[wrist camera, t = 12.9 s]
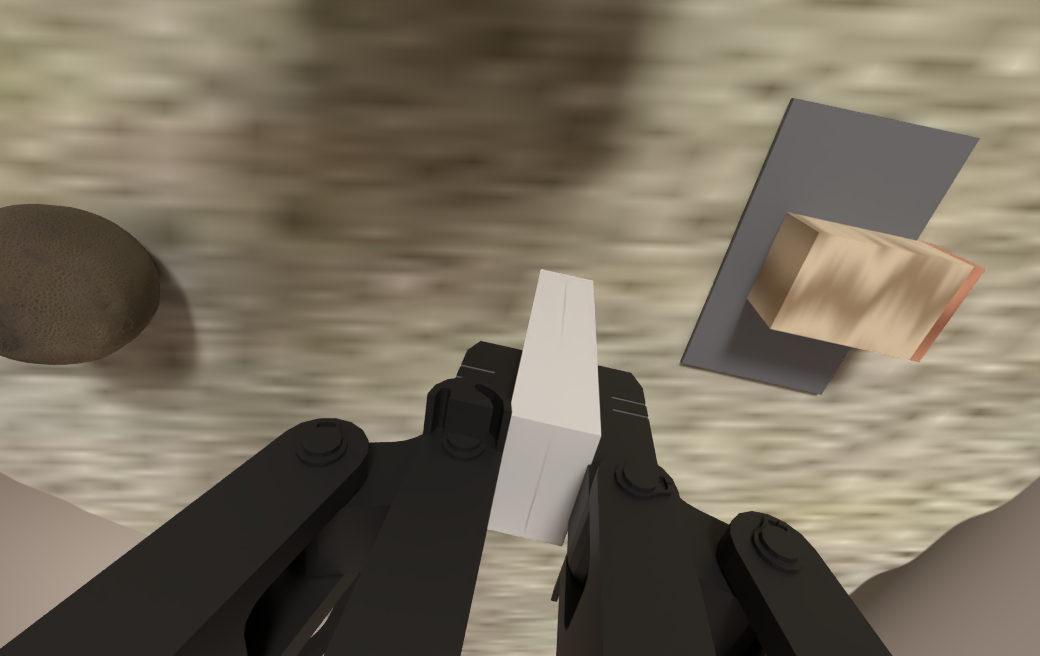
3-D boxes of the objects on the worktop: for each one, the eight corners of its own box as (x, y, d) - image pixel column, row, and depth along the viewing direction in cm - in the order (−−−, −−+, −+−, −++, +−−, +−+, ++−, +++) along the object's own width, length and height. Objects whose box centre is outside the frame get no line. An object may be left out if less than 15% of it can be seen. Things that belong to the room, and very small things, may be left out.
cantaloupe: (134, 331, 53) (-13, 413, 40) (39, 214, 48) (-168, 264, 35) (228, 294, 50) (100, 371, 36) (136, 163, 44) (-54, 197, 31)
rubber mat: (791, 98, 36) (794, 98, 35) (975, 137, 35) (980, 138, 35) (680, 360, 47) (681, 363, 46) (819, 391, 47) (821, 394, 46)
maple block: (930, 243, 39) (787, 212, 39) (985, 269, 33) (819, 232, 34) (877, 327, 42) (746, 298, 43) (919, 362, 37) (770, 328, 37)
